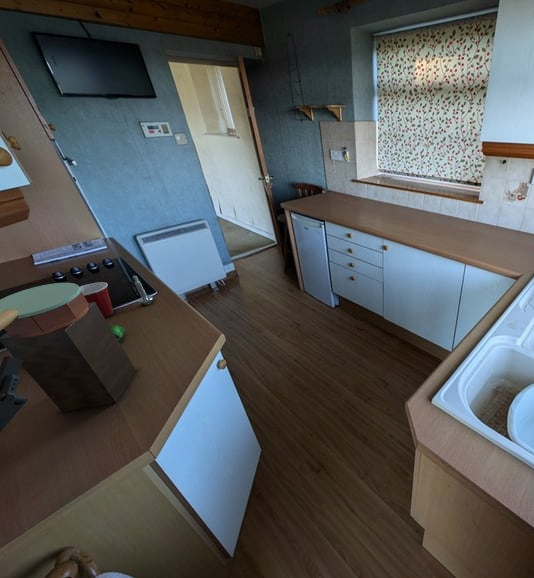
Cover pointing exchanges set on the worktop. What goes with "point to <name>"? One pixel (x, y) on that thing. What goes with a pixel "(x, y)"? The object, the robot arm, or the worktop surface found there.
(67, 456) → the worktop surface
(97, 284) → the plastic cup
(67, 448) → the worktop surface
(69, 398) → the plinth
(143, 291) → the screw
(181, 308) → the worktop surface
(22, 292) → the green flat oval disc
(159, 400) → the worktop surface
